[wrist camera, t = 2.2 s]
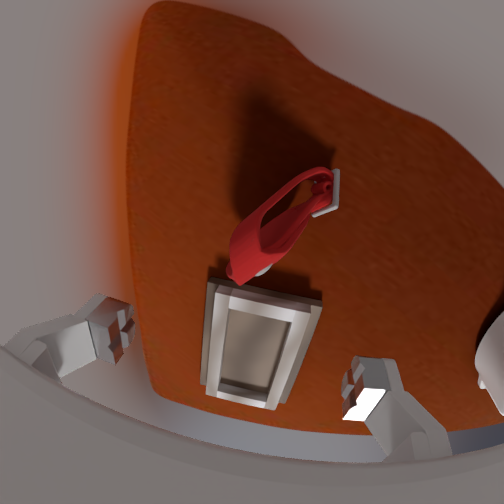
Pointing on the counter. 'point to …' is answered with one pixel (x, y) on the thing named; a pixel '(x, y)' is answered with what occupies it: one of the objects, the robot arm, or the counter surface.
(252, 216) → the tracker holder
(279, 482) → the robot arm
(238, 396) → the grey rectangular tray
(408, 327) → the counter surface
